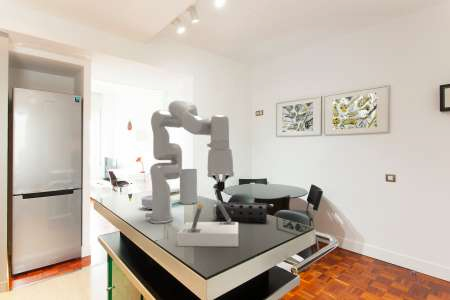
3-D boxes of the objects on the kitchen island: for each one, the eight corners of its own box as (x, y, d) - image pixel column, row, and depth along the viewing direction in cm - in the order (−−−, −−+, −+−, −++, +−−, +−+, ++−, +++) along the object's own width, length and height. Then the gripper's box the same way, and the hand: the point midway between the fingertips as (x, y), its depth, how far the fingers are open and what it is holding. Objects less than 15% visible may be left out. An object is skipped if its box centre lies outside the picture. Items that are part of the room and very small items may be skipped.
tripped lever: (190, 230, 97) (198, 204, 97) (192, 227, 101) (199, 202, 101) (194, 231, 97) (202, 205, 97) (195, 229, 101) (203, 204, 101)
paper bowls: (159, 211, 155) (159, 199, 155) (137, 210, 158) (137, 198, 158) (168, 206, 170) (168, 195, 170) (148, 205, 173) (148, 194, 173)
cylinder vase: (177, 204, 176) (177, 169, 176) (183, 201, 188) (183, 168, 188) (194, 205, 174) (193, 169, 174) (199, 201, 186) (198, 168, 186)
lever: (228, 224, 107) (216, 203, 108) (228, 222, 111) (216, 201, 111) (231, 222, 107) (219, 201, 108) (231, 220, 111) (219, 199, 111)
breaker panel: (177, 245, 96) (177, 232, 96) (186, 232, 112) (186, 221, 112) (238, 246, 95) (238, 233, 95) (238, 233, 111) (238, 221, 111)
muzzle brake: (266, 225, 123) (266, 204, 123) (212, 222, 129) (212, 203, 129) (266, 220, 133) (266, 201, 133) (216, 218, 138) (216, 199, 138)
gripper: (200, 146, 95) (201, 193, 95) (238, 145, 95) (239, 192, 94) (203, 146, 103) (204, 190, 102) (238, 146, 102) (239, 189, 102)
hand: (221, 191), depth 98 cm, fingers closed
